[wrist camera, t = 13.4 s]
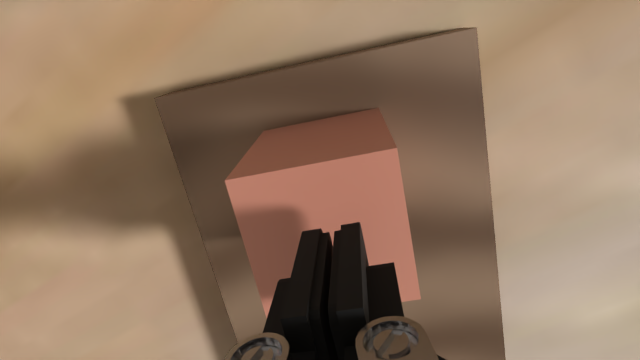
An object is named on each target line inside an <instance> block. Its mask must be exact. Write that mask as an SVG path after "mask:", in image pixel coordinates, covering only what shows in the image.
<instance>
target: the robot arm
mask: <svg viewBox="0 0 640 360" xmlns="http://www.w3.org/2000/svg"><path fill="white" fill-rule="evenodd" d="M224 360H446V359H444V358H442V357H440V356H438V355H437V354H436V352H435V350H434V348H433V346H432V344H431V342H430V340H429V338H428V336H427V334H426V332H425V330H424V329H423V328H422V326H421V325H420V324H419V323H417V322H416V321H414V320H412V319H409V318H406V317H404V313H403V308H402V302H401V297H400V292H399V286H398V281H397V276H396V270H395V265H394V262H392V263H385V264H379V265H372V266H369V263H368V258H367V253H366V248H365V243H364V238H363V233H362V228H361V224H360V222H356V223H350V224H344V225H341V230H338V231H334V241H333V245H332V240H331V236H330V233H329V232H326V233H323V231H322V229H321V228H320V229H313V230H307V231H302V233H301V237H300V241H299V245H298V249H297V253H296V257H295V261H294V265H293V269H292V273H291V277H290V278H285V279H280V280H279V281H278V283H277V286H276V290H275V293H274V296H273V300H272V303H271V306H270V310H269V313H268V316H267V320H266V323H265V327H264V330H263V333H259V334H255V335H252V336H250V337H247V338H245V339H244V340H242V341H240V342H239V343H237V344H236V345H235V346H234V347H233V348H231V350H230V351H229V352H228V354H227V355H226V356H225V358H224Z"/></svg>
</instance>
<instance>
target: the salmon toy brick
mask: <svg viewBox="0 0 640 360" xmlns="http://www.w3.org/2000/svg"><path fill="white" fill-rule="evenodd" d="M225 183H226V187H227V190H228V193H229V197H230V200H231V203H232V206H233V210H234V213H235V216H236V220H237V223H238V226H239V229H240V233H241V236H242V239H243V243H244V246H245V249H246V252H247V256H248V259H249V262H250V266H251V269H252V272H253V275H254V279H255V282H256V285H257V289H258V292H259V295H260V298H261V302H262V305H263V308H264V311H265V315H266V318H267V316H268V313H269V310H270V306H271V303H272V300H273V296H274V293H275V290H276V286H277V283H278V281H279V280H280V279H285V278H290V277H291V273H292V269H293V265H294V261H295V257H296V253H297V249H298V245H299V241H300V237H301V233H302V231H307V230H313V229H320V228H321V229H322V231H323V233H326V232H329V233H330V236H331V240H332V245H333V241H334V231H338V230H341V225H344V224H350V223H356V222H360V224H361V228H362V233H363V238H364V243H365V248H366V253H367V258H368V263H369V266H372V265H379V264H385V263H392V262H394V265H395V270H396V276H397V281H398V286H399V292H400V297H401V302H406V301H412V300H419V299H421V296H420V289H419V283H418V277H417V270H416V264H415V258H414V251H413V245H412V239H411V232H410V226H409V220H408V213H407V207H406V201H405V194H404V188H403V182H402V175H401V169H400V163H399V156H398V150H397V146H396V144H395V142H394V140H393V138H392V136H391V133H390V131H389V129H388V127H387V125H386V123H385V121H384V118H383V116H382V114H381V112H380V110H379V108H375V109H370V110H365V111H360V112H355V113H350V114H345V115H340V116H335V117H330V118H325V119H320V120H315V121H310V122H305V123H300V124H295V125H290V126H285V127H280V128H275V129H270V130H265V131H263V132H262V134H261V135H260V136H259V137H258V139H257V140H256V141H255V142H254V144H253V145H252V146H251V148H250V149H249V150H248V151H247V153H246V154H245V155H244V156H243V158H242V159H241V160H240V162H239V163H238V164H237V165H236V167H235V168H234V169H233V170H232V172H231V173H230V174H229V176H228V177H227V178H226V179H225Z"/></svg>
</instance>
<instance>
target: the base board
mask: <svg viewBox="0 0 640 360" xmlns="http://www.w3.org/2000/svg"><path fill="white" fill-rule="evenodd" d="M154 99H155V102H156V105H157V108H158V111H159V113H160V116H161V119H162V122H163V125H164V128H165V131H166V134H167V137H168V140H169V143H170V146H171V149H172V152H173V154H174V157H175V160H176V163H177V166H178V169H179V172H180V175H181V178H182V181H183V184H184V187H185V190H186V193H187V196H188V198H189V201H190V204H191V207H192V210H193V213H194V216H195V219H196V222H197V225H198V228H199V231H200V234H201V237H202V239H203V242H204V245H205V248H206V251H207V254H208V257H209V260H210V263H211V266H212V269H213V272H214V275H215V278H216V280H217V283H218V286H219V289H220V292H221V295H222V298H223V301H224V304H225V307H226V310H227V313H228V316H229V319H230V322H231V324H232V327H233V330H234V333H235V336H236V339H237V342H238V343H239V342H240V341H242V340H244V339H245V338H247V337H250V336H252V335H255V334H259V333H263V330H264V327H265V323H266V320H267V318H266V315H265V311H264V308H263V305H262V302H261V298H260V295H259V292H258V289H257V285H256V282H255V279H254V275H253V272H252V269H251V266H250V262H249V259H248V256H247V252H246V249H245V246H244V243H243V239H242V236H241V233H240V229H239V226H238V223H237V220H236V216H235V213H234V210H233V206H232V203H231V200H230V197H229V193H228V190H227V187H226V183H225V179H226V178H227V177H228V176H229V174H230V173H231V172H232V170H233V169H234V168H235V167H236V165H237V164H238V163H239V162H240V160H241V159H242V158H243V156H244V155H245V154H246V153H247V151H248V150H249V149H250V148H251V146H252V145H253V144H254V142H255V141H256V140H257V139H258V137H259V136H260V135H261V134H262V132H263V131H265V130H270V129H275V128H280V127H285V126H290V125H295V124H300V123H305V122H310V121H315V120H320V119H325V118H330V117H335V116H340V115H345V114H350V113H355V112H360V111H365V110H370V109H375V108H379V110H380V112H381V114H382V116H383V118H384V121H385V123H386V125H387V127H388V129H389V131H390V133H391V136H392V138H393V140H394V142H395V144H396V146H397V150H398V156H399V163H400V169H401V175H402V182H403V188H404V194H405V201H406V207H407V213H408V220H409V226H410V232H411V239H412V245H413V251H414V258H415V264H416V270H417V277H418V283H419V289H420V296H421V299H419V300H412V301H406V302H402V308H403V313H404V317H406V318H409V319H412V320H414V321H416V322H417V323H419V324H420V325H421V326H422V328H423V329H424V330H425V332H426V334H427V336H428V338H429V340H430V342H431V344H432V346H433V348H434V350H435V352H436V354H437V355H438V356H440V357H442V358H444V359H446V360H505V348H504V337H503V325H502V314H501V302H500V291H499V279H498V268H497V256H496V245H495V233H494V221H493V210H492V198H491V187H490V175H489V164H488V152H487V141H486V129H485V118H484V106H483V95H482V83H481V72H480V60H479V49H478V37H477V28H460V29H456V30H451V31H447V32H442V33H438V34H433V35H429V36H424V37H420V38H415V39H410V40H406V41H401V42H397V43H392V44H388V45H383V46H379V47H374V48H370V49H365V50H361V51H356V52H351V53H347V54H342V55H338V56H333V57H329V58H324V59H320V60H315V61H311V62H306V63H302V64H297V65H292V66H288V67H283V68H279V69H274V70H270V71H265V72H261V73H256V74H252V75H247V76H243V77H238V78H233V79H229V80H224V81H220V82H215V83H211V84H206V85H202V86H197V87H193V88H188V89H184V90H179V91H174V92H171V93H168V94H165V95H162V96H160V97H157V98H154Z"/></svg>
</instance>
